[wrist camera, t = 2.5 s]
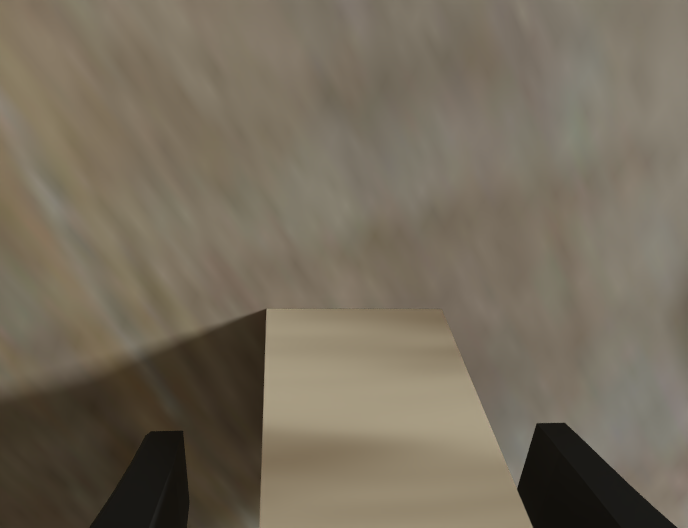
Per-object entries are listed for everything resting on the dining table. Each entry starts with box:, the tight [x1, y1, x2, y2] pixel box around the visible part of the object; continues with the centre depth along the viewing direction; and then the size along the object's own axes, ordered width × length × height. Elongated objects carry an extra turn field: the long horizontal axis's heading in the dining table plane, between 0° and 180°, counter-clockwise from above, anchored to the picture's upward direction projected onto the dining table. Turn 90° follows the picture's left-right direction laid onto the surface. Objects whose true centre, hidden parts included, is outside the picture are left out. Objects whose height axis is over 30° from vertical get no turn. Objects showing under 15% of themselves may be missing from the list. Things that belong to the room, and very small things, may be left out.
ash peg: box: [260, 309, 533, 528], centre depth 11 cm, size 4×4×8 cm
